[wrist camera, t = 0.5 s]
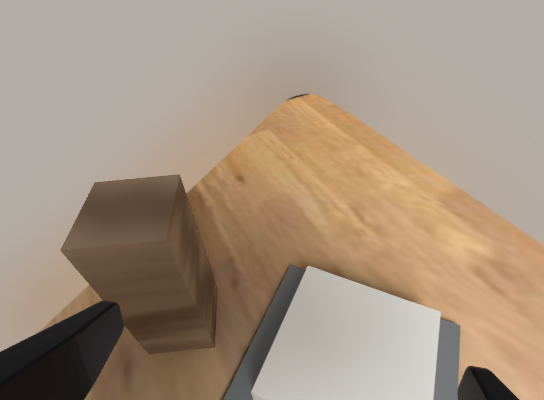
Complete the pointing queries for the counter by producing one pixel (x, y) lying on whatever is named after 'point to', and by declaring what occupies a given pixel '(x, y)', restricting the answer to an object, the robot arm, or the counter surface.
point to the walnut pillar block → (147, 261)
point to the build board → (347, 345)
